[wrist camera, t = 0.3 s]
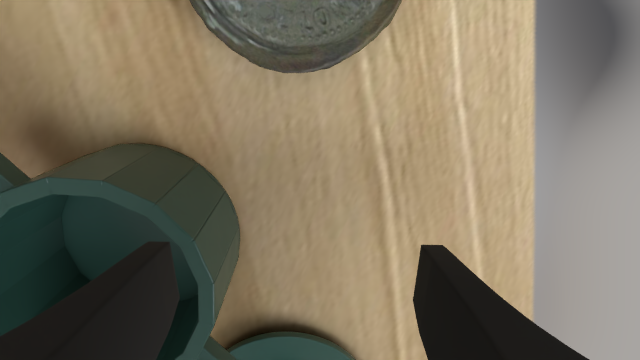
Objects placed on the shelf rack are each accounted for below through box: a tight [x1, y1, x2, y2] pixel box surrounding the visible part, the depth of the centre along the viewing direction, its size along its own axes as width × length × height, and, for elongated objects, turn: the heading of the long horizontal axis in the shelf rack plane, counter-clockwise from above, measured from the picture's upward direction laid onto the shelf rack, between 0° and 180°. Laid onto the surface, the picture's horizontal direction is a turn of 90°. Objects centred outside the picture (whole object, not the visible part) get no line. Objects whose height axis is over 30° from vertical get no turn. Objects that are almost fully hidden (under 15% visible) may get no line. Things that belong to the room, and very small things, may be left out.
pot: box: [0, 144, 240, 360], centre depth 19 cm, size 10×16×6 cm, turn 40°
